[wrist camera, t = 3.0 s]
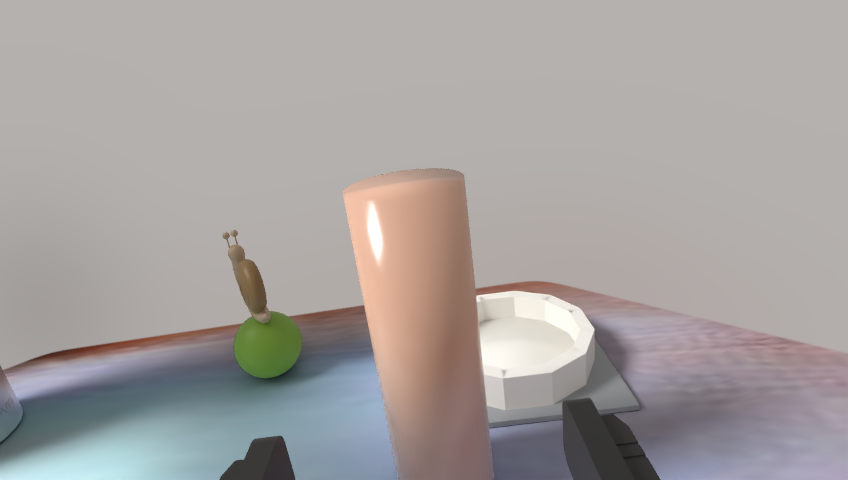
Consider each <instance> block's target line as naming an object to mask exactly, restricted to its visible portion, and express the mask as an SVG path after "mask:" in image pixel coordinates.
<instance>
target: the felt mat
mask: <svg viewBox="0 0 848 480" xmlns="http://www.w3.org/2000/svg"><path fill="white" fill-rule="evenodd" d="M571 305H572V304H571ZM580 398H591V400H592V401H593V403H594V405H595V407H596V409H597V410H598V412H599V414H600V415H601V414H610V413H618V412H626V411H635V410H640V404H639V403H638V401H637V400H636V398H635V397H634V395H633V394H632V392H631V391H630V390H629V388H628V387H627V385H626V384H625V382H624V381H623V379H622V378H621V376H620V375H619V373H618V372H617V370H616V369H615V367H614V366H613V364H612V363H611V361H610V360H609V358H608V357H607V355H606V354H605V352H604V351H603V349H602V348H601V346H600V345H599V343H598V342H597V340H596V339H595V360H594V363H593V366H592V369H591V372H590V375H589V378H588V381H587V384H586V385H585V386H583V387H581V388H580V389H578V390H576V391H575V392H573V393H572V394H570V395H568V396H567V397H565V398H563V399H562V400H560V401H558V402H557V403H555V404H553V405H546V406H538V407H529V408H521V409H513V410H502V409H498V408H494V407H490V406H487V411H488V421H489V428H493V427H501V426H510V425H518V424H526V423H535V422H543V421H551V420H560V419H563V414H562V403H563V401H564V400H572V399H580Z"/></svg>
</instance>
